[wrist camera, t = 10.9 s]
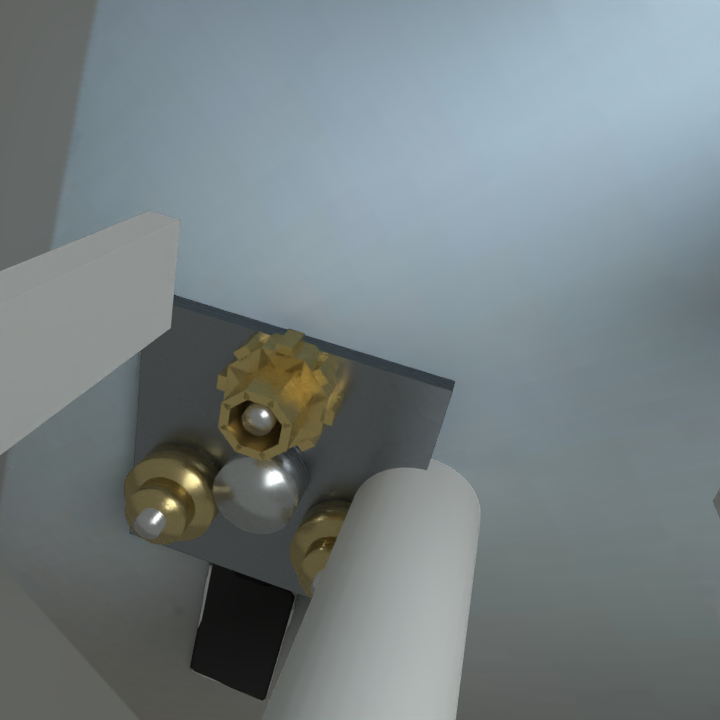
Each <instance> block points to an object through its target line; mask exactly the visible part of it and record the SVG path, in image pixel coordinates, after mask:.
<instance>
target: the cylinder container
mask: <svg viewBox="0 0 720 720" xmlns="http://www.w3.org/2000/svg"><path fill="white" fill-rule="evenodd" d="M480 520H481V510H480V504H479V501H478V498H477V496H476V494H475V492H474V490H473V488H472V487H471V485H470V484H469V483H468V482H467V481H466V479H465V478H464V477H463V476H462V475H460V474H459V473H458V472H457V471H455V470H454V469H453V468H451V467H449V466H447V465H446V464H444V463H442V462H439V461H436V460H434V459H431V460H430V463H429V466H428V469H427V470H423V469H418V468H394V469H388V470H385V471H382V472H379V473H377V474H375V475H374V476H372V477H370V478H369V479H367V480H366V481H365V482H364V483H363V484H362V485H361V486H360V488H359V489H358V491H357V492H356V494H355V496H354V498H353V501H352V503H351V506H350V508H349V510H348V513H347V515H346V518H345V520H344V522H343V525H342V527H341V530H340V532H339V534H338V537H337V539H336V542H335V544H334V546H333V549H332V551H331V554H330V556H329V558H328V561H327V563H326V566H325V568H324V570H323V573H322V575H321V578H320V580H319V582H318V585H317V587H316V590H315V592H314V594H313V597H312V599H311V602H310V604H309V606H308V609H307V611H306V614H305V616H304V618H303V621H302V623H301V626H300V628H299V630H298V633H297V635H296V638H295V640H294V642H293V645H292V647H291V650H290V652H289V654H288V657H287V659H286V662H285V664H284V666H283V669H282V671H281V674H280V676H279V678H278V681H277V683H276V686H275V688H274V690H273V693H272V695H271V698H270V700H269V702H268V705H267V707H266V710H265V712H264V714H263V717H262V719H261V720H455V719H456V711H457V704H458V696H459V688H460V680H461V672H462V664H463V656H464V648H465V640H466V632H467V624H468V616H469V608H470V600H471V592H472V584H473V576H474V568H475V560H476V552H477V544H478V536H479V528H480Z"/></svg>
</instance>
